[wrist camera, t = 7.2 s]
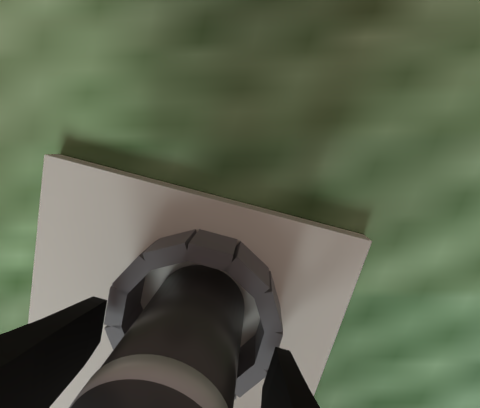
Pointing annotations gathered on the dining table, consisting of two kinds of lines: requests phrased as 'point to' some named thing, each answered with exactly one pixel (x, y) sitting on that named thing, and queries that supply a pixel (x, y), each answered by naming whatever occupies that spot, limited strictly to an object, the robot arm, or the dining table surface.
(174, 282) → the lens
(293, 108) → the dining table surface
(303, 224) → the mount board
